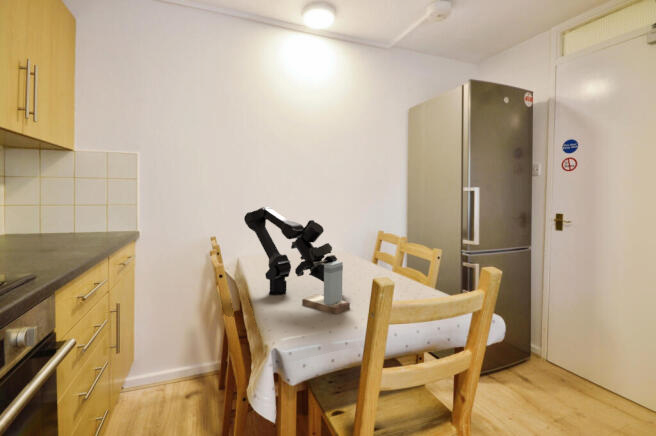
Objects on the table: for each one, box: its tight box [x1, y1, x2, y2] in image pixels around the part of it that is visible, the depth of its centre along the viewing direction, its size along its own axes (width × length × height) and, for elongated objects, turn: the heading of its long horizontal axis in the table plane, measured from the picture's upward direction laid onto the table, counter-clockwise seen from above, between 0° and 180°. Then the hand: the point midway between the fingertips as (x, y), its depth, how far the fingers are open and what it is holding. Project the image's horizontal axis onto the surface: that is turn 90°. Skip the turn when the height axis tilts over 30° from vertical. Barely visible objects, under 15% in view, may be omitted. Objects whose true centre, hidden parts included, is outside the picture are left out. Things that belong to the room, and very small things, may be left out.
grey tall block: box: [323, 260, 344, 305], centre depth 109 cm, size 3×7×14 cm, turn 142°
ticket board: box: [301, 294, 351, 315], centre depth 112 cm, size 16×8×2 cm, turn 52°
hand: (329, 283), depth 111 cm, fingers closed, pressing on grey tall block
